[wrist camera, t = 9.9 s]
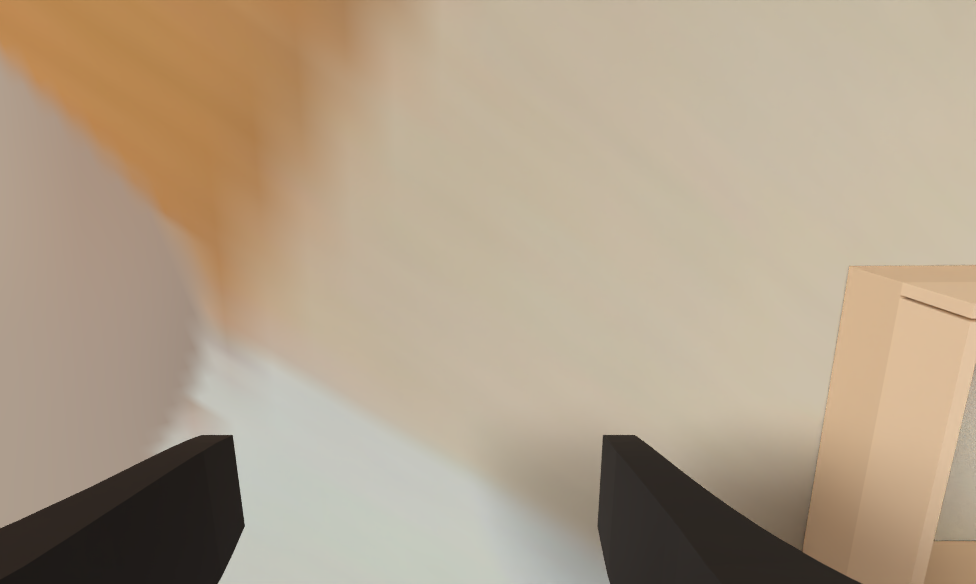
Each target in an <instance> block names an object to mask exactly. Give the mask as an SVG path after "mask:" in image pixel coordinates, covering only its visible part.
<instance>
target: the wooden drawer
mask: <svg viewBox="0 0 976 584" xmlns="http://www.w3.org/2000/svg"><path fill="white" fill-rule="evenodd" d="M975 364H976V265H969V266H849V272H848V278H847V284H846V290H845V296H844V302H843V308H842V314H841V320H840V326H839V333H838V339H837V345H836V351H835V357H834V363H833V369H832V375H831V381H830V387H829V393H828V399H827V405H826V411H825V417H824V423H823V429H822V435H821V441H820V447H819V453H818V459H817V465H816V471H815V477H814V483H813V490H812V496H811V502H810V508H809V514H808V520H807V526H806V532H805V538H804V544H803V550H802V552H803V553H805V554H807V555H809V556H810V557H812V558H814V559H816V560H817V561H819V562H821V563H823V564H825V565H827V566H828V567H830V568H832V569H834V570H836V571H838V572H840V573H842V574H844V575H846V576H848V577H850V578H852V579H854V580H856V581H858V582H860V583H862V584H976V541H934V537H935V533H936V529H937V524H938V520H939V516H940V512H941V507H942V503H943V499H944V495H945V491H946V486H947V482H948V478H949V474H950V469H951V465H952V461H953V457H954V452H955V448H956V444H957V440H958V436H959V431H960V427H961V423H962V419H963V414H964V410H965V406H966V402H967V397H968V393H969V389H970V385H971V381H972V376H973V372H974V368H975Z"/></svg>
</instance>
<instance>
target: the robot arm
mask: <svg viewBox="0 0 976 584" xmlns="http://www.w3.org/2000/svg"><path fill="white" fill-rule="evenodd" d="M244 527H245V524H244V517H243V509H242V502H241V495H240V487H239V480H238V472H237V465H236V457H235V450H234V442H233V435H201V436H198V437H195V438H192V439H190V440H187V441H185V442H182V443H180V444H178V445H176V446H174V447H171V448H169V449H167V450H165V451H163V452H161V453H159V454H157V455H155V456H152V457H150V458H148V459H146V460H144V461H142V462H140V463H138V464H136V465H134V466H132V467H130V468H129V469H126V470H124V471H122V472H120V473H118V474H116V475H114V476H112V477H110V478H108V479H106V480H104V481H102V482H100V483H98V484H96V485H94V486H92V487H90V488H88V489H85V490H83V491H81V492H79V493H77V494H75V495H73V496H70V497H68V498H66V499H64V500H62V501H60V502H57V503H55V504H53V505H51V506H49V507H47V508H44V509H42V510H40V511H38V512H36V513H34V514H31V515H29V516H28V517H25V518H23V519H21V520H19V521H16V522H14V523H12V524H9V525H7V526H5V527H3V528H0V584H218V582H219V580H220V579H221V577H222V575H223V573H224V571H225V569H226V567H227V565H228V562H229V560H230V558H231V556H232V554H233V552H234V550H235V547H236V545H237V543H238V540H239V538H240V536H241V533H242V531H243V529H244ZM598 530H599V535H600V541H601V546H602V551H603V556H604V560H605V565H606V569H607V574H608V578H609V581H610V584H862V583H860V582H858V581H856V580H854V579H852V578H850V577H848V576H846V575H844V574H842V573H840V572H838V571H836V570H834V569H832V568H830V567H828V566H827V565H825V564H823V563H821V562H819V561H817V560H816V559H814V558H812V557H810V556H809V555H807V554H805V553H803V552H802V551H800V550H798V549H796V548H795V547H793V546H791V545H789V544H788V543H786V542H784V541H782V540H781V539H779V538H777V537H776V536H774V535H773V534H771V533H769V532H768V531H766V530H764V529H763V528H761V527H760V526H758V525H757V524H755V523H754V522H752V521H751V520H749V519H748V518H746V517H745V516H743V515H742V514H740V513H739V512H737V511H736V510H734V509H733V508H731V507H730V506H728V505H727V504H725V503H724V502H723V501H721V500H720V499H718V498H717V497H716V496H714V495H713V494H711V493H710V492H709V491H707V490H706V489H705V488H703V487H702V486H701V485H699V484H698V483H697V482H695V481H694V480H693V479H691V478H690V477H689V476H687V475H686V474H685V473H683V472H682V471H681V470H680V469H678V468H677V467H676V466H674V465H673V464H672V463H671V462H669V461H668V460H667V459H666V458H664V457H663V456H662V455H660V454H659V453H658V452H657V451H655V450H654V449H653V448H652V447H650V446H649V445H648V444H646V443H645V442H644V441H642V440H641V439H640V438H638V437H637V436H635V435H603V446H602V462H601V479H600V495H599V512H598Z"/></svg>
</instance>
